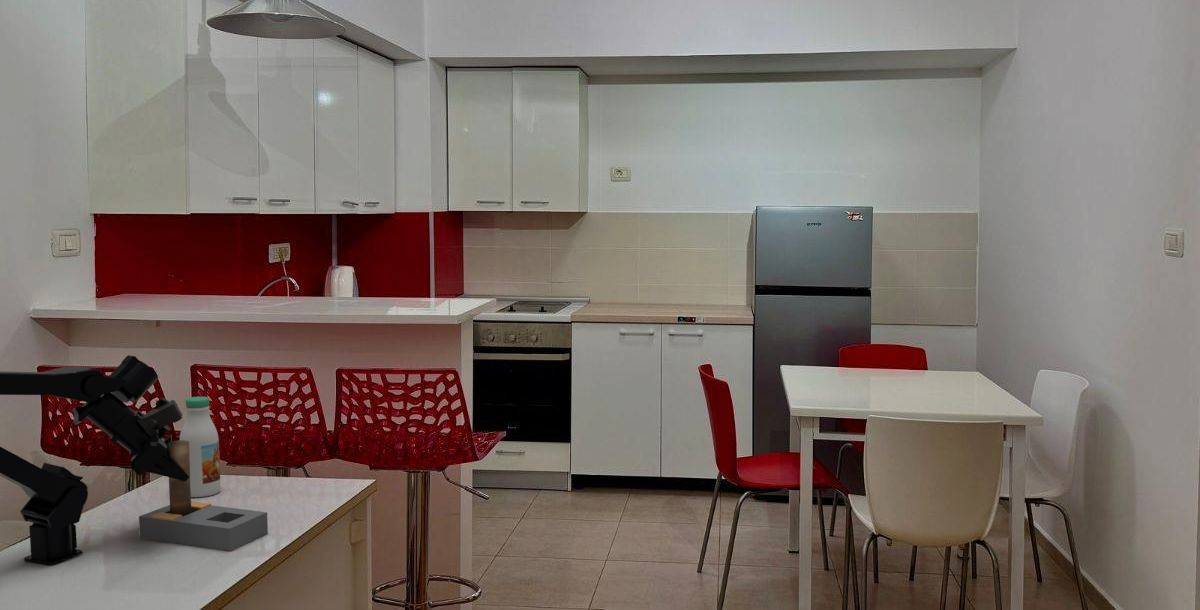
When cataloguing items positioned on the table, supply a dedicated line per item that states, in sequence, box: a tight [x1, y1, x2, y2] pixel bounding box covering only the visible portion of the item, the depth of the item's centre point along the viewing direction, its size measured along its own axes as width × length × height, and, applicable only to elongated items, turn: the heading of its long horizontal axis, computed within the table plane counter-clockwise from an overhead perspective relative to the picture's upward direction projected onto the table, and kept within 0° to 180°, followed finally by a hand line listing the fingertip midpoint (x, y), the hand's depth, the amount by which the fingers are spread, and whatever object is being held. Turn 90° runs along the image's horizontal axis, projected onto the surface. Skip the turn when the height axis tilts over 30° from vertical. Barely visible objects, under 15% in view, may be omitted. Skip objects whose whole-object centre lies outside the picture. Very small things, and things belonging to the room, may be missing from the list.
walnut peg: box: [168, 439, 192, 515], centre depth 186 cm, size 4×4×13 cm
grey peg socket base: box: [138, 500, 269, 552], centre depth 185 cm, size 20×10×4 cm, turn 70°
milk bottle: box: [179, 396, 222, 498], centre depth 212 cm, size 8×8×20 cm
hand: (187, 476), depth 187 cm, fingers closed on walnut peg, 4 cm apart
